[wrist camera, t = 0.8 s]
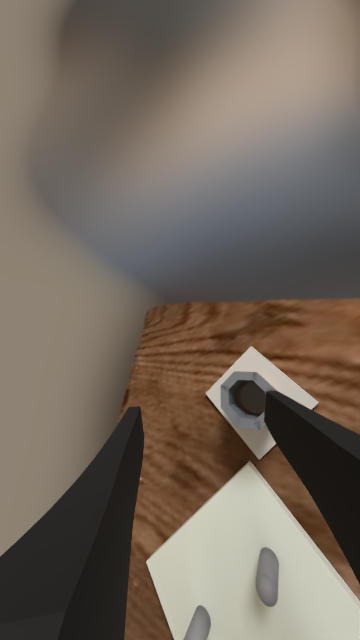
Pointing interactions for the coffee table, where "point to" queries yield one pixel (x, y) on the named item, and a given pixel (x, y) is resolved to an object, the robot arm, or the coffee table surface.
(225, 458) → the coffee table surface
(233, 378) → the sleeve
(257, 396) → the pad
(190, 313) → the coffee table surface
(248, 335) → the coffee table surface
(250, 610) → the pin board
